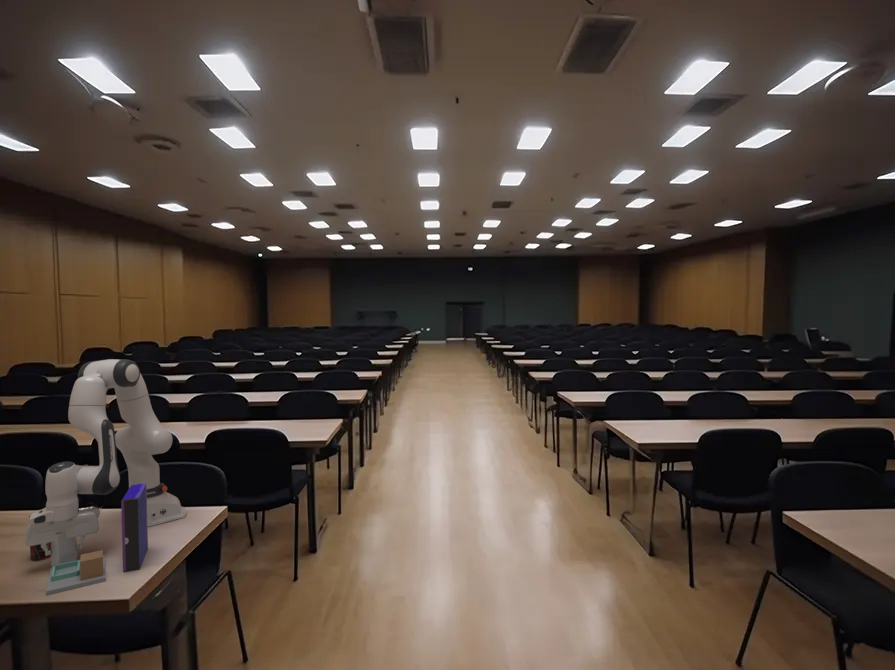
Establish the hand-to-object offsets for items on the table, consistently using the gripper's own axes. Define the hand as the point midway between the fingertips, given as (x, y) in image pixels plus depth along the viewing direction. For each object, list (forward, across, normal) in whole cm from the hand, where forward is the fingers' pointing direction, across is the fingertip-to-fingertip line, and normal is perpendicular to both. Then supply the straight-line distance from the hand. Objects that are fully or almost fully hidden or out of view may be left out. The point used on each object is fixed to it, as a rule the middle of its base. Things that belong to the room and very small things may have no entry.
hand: (63, 551), depth 177 cm
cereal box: (+5, -20, +10) cm, 23 cm away
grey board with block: (+5, -4, +12) cm, 13 cm away
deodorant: (+5, +7, -12) cm, 15 cm away
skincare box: (+5, 0, 0) cm, 5 cm away
